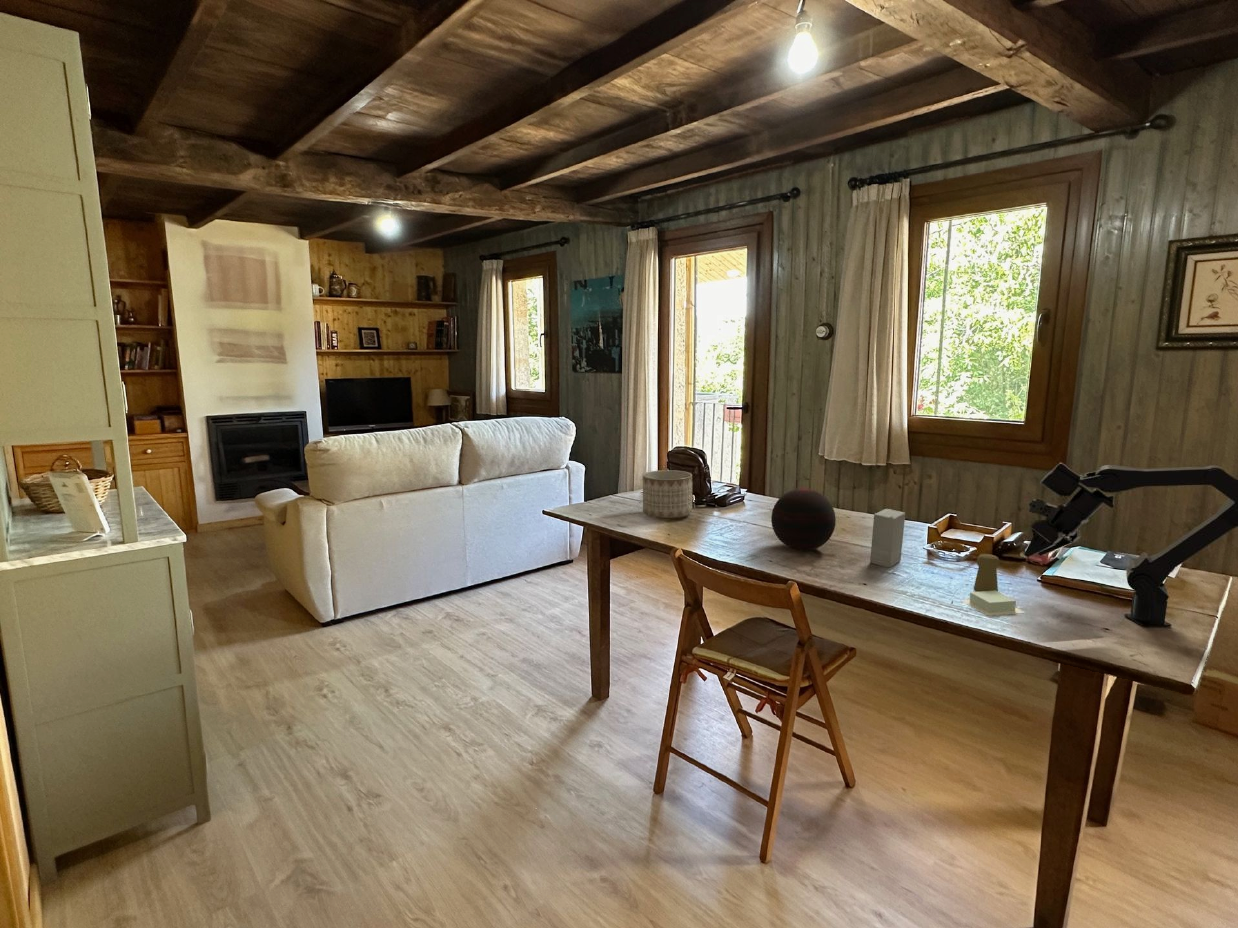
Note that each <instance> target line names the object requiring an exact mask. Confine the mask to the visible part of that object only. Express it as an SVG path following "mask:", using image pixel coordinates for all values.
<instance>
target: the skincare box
mask: <svg viewBox="0 0 1238 928" xmlns="http://www.w3.org/2000/svg"><path fill="white" fill-rule="evenodd" d="M905 520H906V512H903V511H899V510H894V509H889V508H885V509H882V510H880V511H879V512H875V513H874V514H873V523H872V524H873V525H872V538H871V549H870V560H869V563H870V564H874V565H878V566H881V567H885V568H892V567H893V566H894V565H896V564H897V563H899V562H901V559H902V551H903V543H904V542H903V540H904V530H905V522H906V521H905Z"/></svg>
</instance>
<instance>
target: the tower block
mask: <svg viewBox="0 0 1238 928" xmlns="http://www.w3.org/2000/svg"><path fill="white" fill-rule="evenodd" d="M969 599H970V602H971V603H973V604H974V605H976V606H978V607H980V608H981V609H983V610H985V611H987V612H988V613H990V612H1003V611H1015V607H1016V605H1017V600H1015V599H1013V598H1012V597H1009V596H1008V595H1005V594H1004V593H1002V592H1000V591H999V590H998V591H996V590H995V591H982V592H977V591H970V593H969ZM1016 608H1017V607H1016Z"/></svg>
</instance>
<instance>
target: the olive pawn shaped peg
mask: <svg viewBox="0 0 1238 928" xmlns="http://www.w3.org/2000/svg"><path fill="white" fill-rule="evenodd" d="M976 564H977V567H978V569H977V573H976V577H975V581H974V585H973V590H974V592H982V591H995V590H996V591H998V592H999V588H998V585H999V584H998V572H997V571H998V570H997V569H998V568H999V566H1000V559H999V557H998V556H996V555H993V554H990V553H989V554H988V553H982V554H979V555H978V556H977V558H976Z"/></svg>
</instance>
